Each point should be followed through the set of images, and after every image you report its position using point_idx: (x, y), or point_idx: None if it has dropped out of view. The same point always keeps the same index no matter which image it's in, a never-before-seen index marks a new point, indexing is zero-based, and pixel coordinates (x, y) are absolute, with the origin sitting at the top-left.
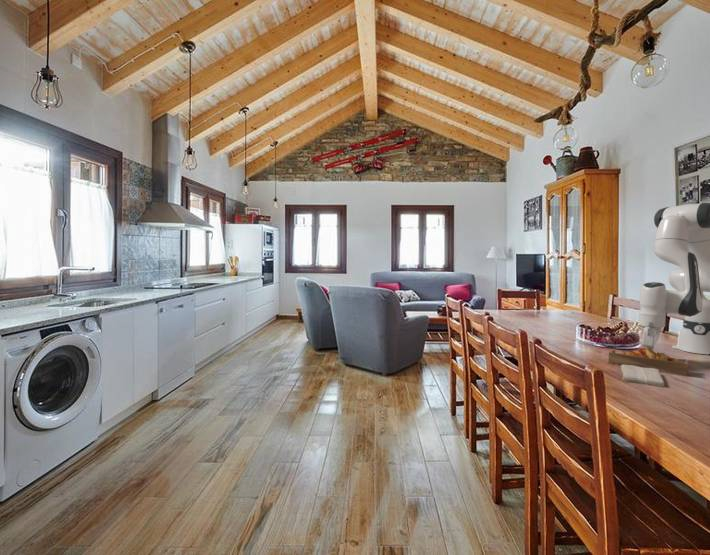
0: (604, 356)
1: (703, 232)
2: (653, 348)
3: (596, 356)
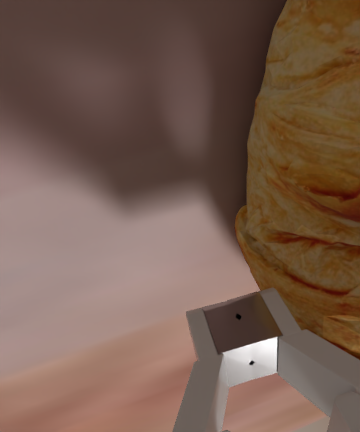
0: (277, 404)
1: None
2: (217, 378)
3: (308, 411)
